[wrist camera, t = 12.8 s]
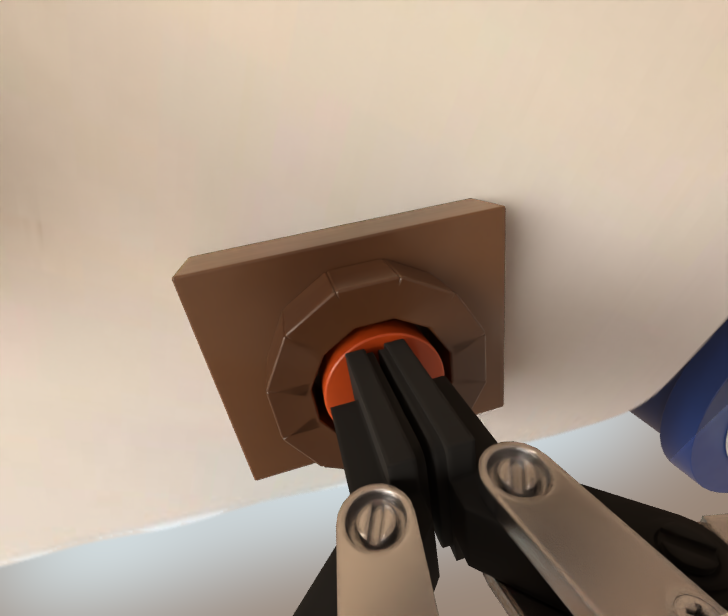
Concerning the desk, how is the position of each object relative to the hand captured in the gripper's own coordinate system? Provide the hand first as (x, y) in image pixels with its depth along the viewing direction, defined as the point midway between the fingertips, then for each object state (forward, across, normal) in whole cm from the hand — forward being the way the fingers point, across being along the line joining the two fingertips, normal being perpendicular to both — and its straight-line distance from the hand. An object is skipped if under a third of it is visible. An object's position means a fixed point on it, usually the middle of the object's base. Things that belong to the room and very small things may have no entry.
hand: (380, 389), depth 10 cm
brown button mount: (+4, 0, 0) cm, 4 cm away
